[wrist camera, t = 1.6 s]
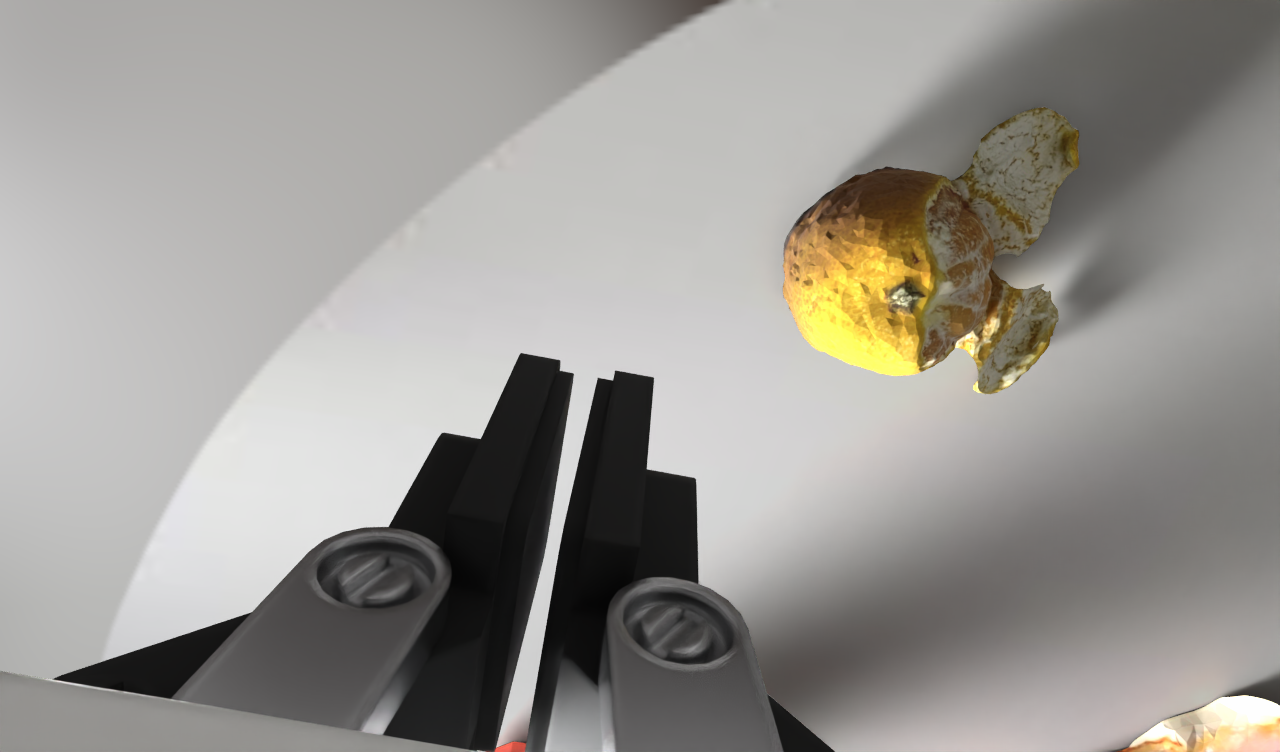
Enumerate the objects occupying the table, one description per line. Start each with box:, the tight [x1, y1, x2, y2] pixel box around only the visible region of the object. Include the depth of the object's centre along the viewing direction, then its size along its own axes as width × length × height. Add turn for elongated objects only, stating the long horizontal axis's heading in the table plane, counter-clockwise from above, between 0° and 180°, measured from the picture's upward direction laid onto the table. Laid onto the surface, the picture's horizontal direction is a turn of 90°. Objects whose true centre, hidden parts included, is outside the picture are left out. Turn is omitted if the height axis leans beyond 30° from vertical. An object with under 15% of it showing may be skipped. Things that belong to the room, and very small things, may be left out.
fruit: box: [783, 107, 1079, 394], centre depth 24 cm, size 8×8×4 cm
